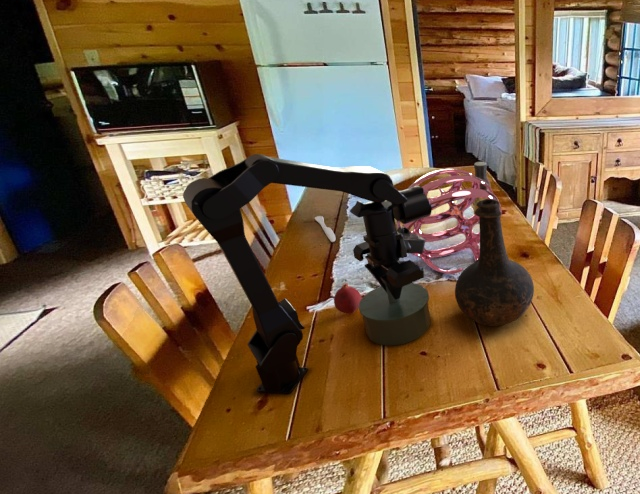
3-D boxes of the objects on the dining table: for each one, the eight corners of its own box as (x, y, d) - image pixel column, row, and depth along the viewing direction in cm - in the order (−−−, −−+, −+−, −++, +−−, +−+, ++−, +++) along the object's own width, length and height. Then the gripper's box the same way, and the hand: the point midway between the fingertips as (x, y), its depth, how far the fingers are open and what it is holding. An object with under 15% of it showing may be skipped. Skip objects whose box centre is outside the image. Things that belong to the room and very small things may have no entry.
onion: (355, 322, 100) (347, 292, 96) (332, 319, 101) (324, 289, 97) (368, 307, 105) (362, 278, 101) (347, 304, 106) (340, 276, 102)
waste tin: (419, 347, 92) (415, 321, 89) (356, 344, 93) (350, 319, 90) (437, 309, 104) (434, 285, 101) (381, 307, 105) (376, 284, 102)
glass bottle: (520, 286, 113) (516, 182, 100) (546, 326, 98) (546, 210, 85) (450, 301, 107) (438, 192, 94) (467, 346, 92) (454, 224, 79)
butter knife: (322, 215, 154) (313, 217, 152) (338, 239, 136) (328, 242, 135) (323, 216, 154) (313, 218, 152) (338, 241, 136) (328, 243, 135)
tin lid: (417, 325, 89) (413, 305, 87) (347, 323, 90) (342, 302, 87) (437, 287, 102) (434, 268, 99) (376, 285, 103) (372, 266, 100)
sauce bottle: (471, 217, 153) (467, 161, 144) (489, 214, 155) (485, 159, 146) (477, 224, 147) (473, 166, 138) (495, 221, 150) (492, 164, 141)
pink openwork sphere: (518, 217, 103) (475, 133, 114) (403, 263, 98) (369, 171, 108) (520, 263, 129) (484, 192, 139) (429, 303, 123) (399, 225, 133)
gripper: (442, 231, 87) (450, 297, 94) (393, 207, 99) (404, 267, 106) (391, 250, 80) (403, 320, 87) (345, 221, 92) (359, 285, 99)
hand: (393, 295), depth 95 cm, fingers open, 3 cm apart
